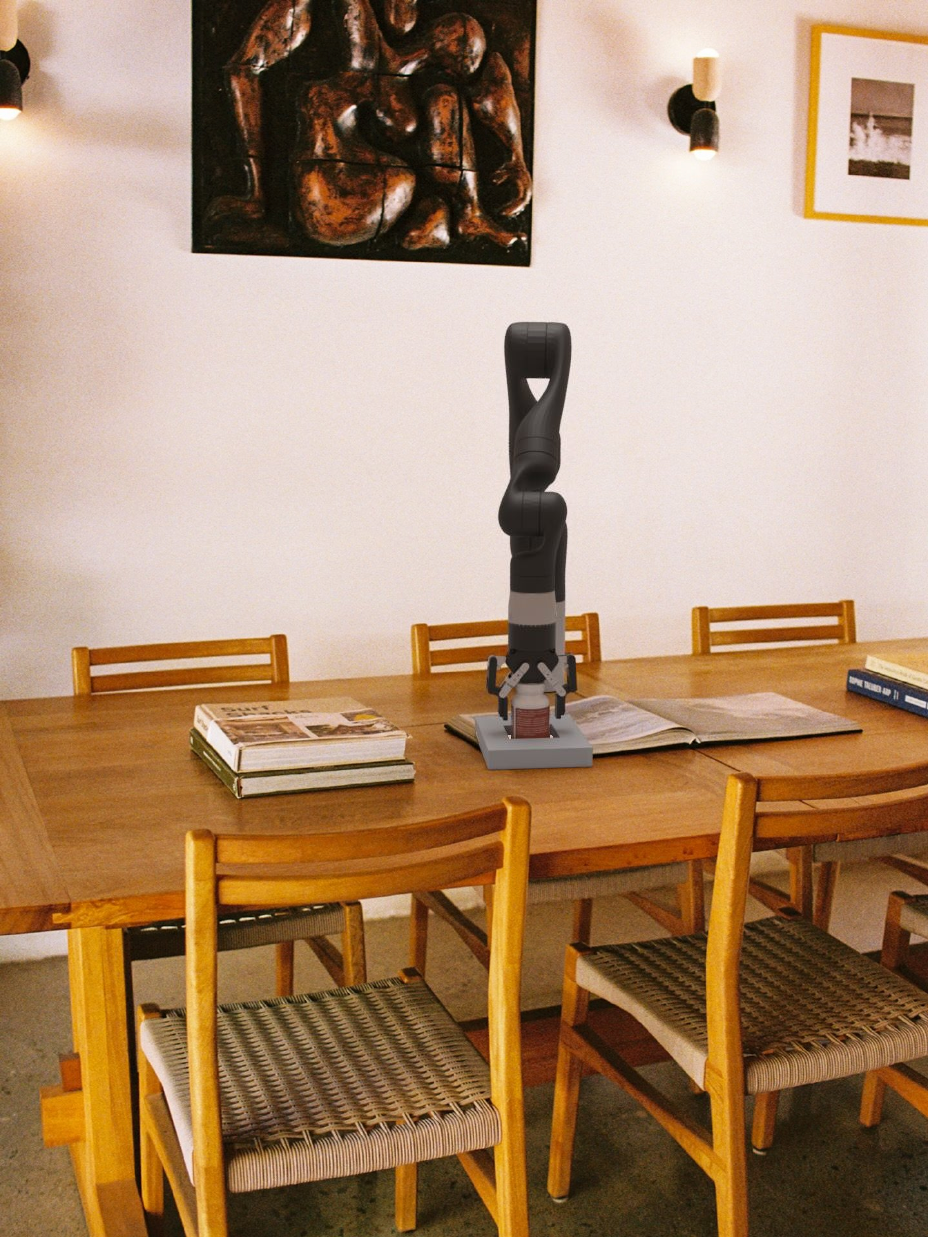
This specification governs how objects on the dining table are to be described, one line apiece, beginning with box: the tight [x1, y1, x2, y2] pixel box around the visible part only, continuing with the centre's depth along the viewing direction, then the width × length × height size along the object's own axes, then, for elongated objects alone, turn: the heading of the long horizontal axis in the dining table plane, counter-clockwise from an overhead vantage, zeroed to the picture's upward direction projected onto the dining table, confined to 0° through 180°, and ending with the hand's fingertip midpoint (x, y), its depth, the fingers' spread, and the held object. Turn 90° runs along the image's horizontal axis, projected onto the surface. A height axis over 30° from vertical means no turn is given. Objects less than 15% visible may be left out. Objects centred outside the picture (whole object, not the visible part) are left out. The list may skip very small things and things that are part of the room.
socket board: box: [474, 713, 594, 770], centre depth 200 cm, size 20×16×3 cm
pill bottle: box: [510, 681, 551, 739], centre depth 200 cm, size 6×6×11 cm
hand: (531, 718), depth 200 cm, fingers open, 8 cm apart
